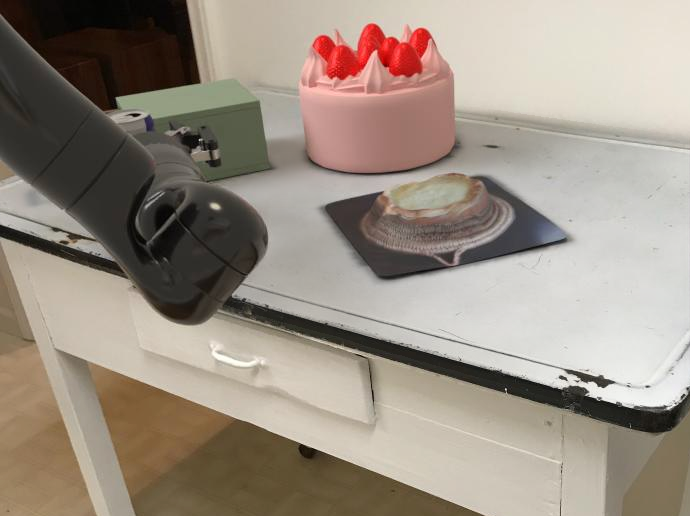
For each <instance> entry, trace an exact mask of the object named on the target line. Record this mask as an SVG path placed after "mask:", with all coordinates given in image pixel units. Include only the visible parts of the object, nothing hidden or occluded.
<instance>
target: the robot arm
mask: <svg viewBox="0 0 690 516" xmlns="http://www.w3.org/2000/svg"><path fill="white" fill-rule="evenodd" d="M103 111H104V110H102V109H101V108H100V107H98V105H96V104H95V103H93V101H91V100H90V99H89V98H88V97H87V96H86V95H84V94H83V93H82V92H81V91H80V90H78V89H77V88H76V87H75V86H74V85H73V84H72V83H70V82H69V80H67V79H66V78H65V77H64V76H62V75H61V74H60V72H58V71H57V70H56V69H55V68H54V67H53V66H51V64H50V63H48V62H47V61H46V59H45V58H43V57H42V56H41V55H40V54H39V53H38V52H37V51H36V50H35V49H34V48H33V47H32V46H31V45H30V44H29V43H28V42H27V41H26V40H25V39H24V38H23V37H22V36H21V35H20V34H19V32H17V30H15V29H14V28H13V26H12V25H11V24H10V23H9V22H8V21H7V20H6V19H5V18H4V16H3V15H2V14H0V162H1V163H2V164H3V166H5V167H6V168H7V169H9V170H10V171H11V172H12V173H14V175H16V176H17V177H18V178H20V179H21V180H22V181H24V182H25V183H26V184H27V185H29V186H30V187H31V188H32V189H34V190H36V192H38V193H39V194H40V195H42V196H43V197H44V198H46V199H47V200H49V201H50V202H51V203H52V204H53V205H55V206H56V207H58V208H59V209H60V210H61V211H63V212H64V213H65V214H67V215H68V216H70V218H71V219H73V220H74V221H75V222H77V223H78V224H79V225H80V226H82V227H83V229H85V230H86V231H87V232H88V233H89V234H90V235H91V236H92V237H93V238H94V239H95V240H96V242H98V244H99V245H100V246H101V247H102V248H103V249H104V250H105V251H106V252H107V253H108V255H109V256H110V257H111V258H112V259H113V260H114V261H115V263H116V264H117V265H118V267H119V268H120V269H121V270H122V271H123V273H124V274H125V276H127V278H128V280H129V281H130V283H131V284H132V285H133V286H134V288H135V289H136V290H137V292H138V293H139V294H140V295H141V297H142V298H143V300H144V301H145V302H146V303H147V304H148V305H149V306H150V308H152V310H153V311H154V312H155V313H156V314H157V315H159V316H160V317H162V318H163V319H165V320H167V321H168V322H171V323H173V324H176V325H179V326H186V327H193V326H199V325H203V324H205V323H206V322H208V321H209V320H210V319H211V318H212V317H214V315H215V314H216V313H217V312H218V311H219V310H220V309H221V307H222V306H223V305H224V304H225V303H226V301H228V299H230V297H231V296H232V295H233V294H234V293H235V292H236V291H237V289H238V288H239V287H240V286H241V285H242V284H243V283H244V282H245V281H246V279H248V277H249V275H251V274H252V272H254V271H255V269H257V267H258V266H259V265H260V263H261V262H262V261H263V259H264V258H265V256H266V254H267V251H268V247H269V231H268V227H267V225H266V222H265V221H264V219H263V217H262V215H260V213H259V212H258V211H257V210H256V209H255V208H254V206H252V205H251V204H250V203H249V202H248V201H247V200H245V199H243V197H241V196H239V195H238V194H236V193H234V192H233V191H231V190H229V189H226V188H224V187H222V186H219V185H216V184H214V183H211V182H208V181H206V178H205V176H204V174H203V172H202V171H201V169H200V168H199V166H198V165H197V164H196V162H201V161H203V164H209V166H210V167H214V168H216V167H219V166H221V165H222V163H221V158H220V152H219V147H218V141H217V139H216V137H215V135H214V134H213V132H212V130H211V129H210V127H209V126H205V125H201V126H199V127H197V130H198V131H191V129H190V127H186V126H185V124H182V123H181V124H179V123H178V122H177V121H176V120H172V121H169V125H170V130H171V131H167V132H165V133H160V132H152V131H150V132H142V133H138V134H135V135H133V136H131V135H130V134H129V133H126V131H125V130H124V129H123V128H122V127H121V126H120V125H118V124H117V123H116V122H115V121H114V120H112V119H111V118H110V117H109V116H108V115H107V114H105V113H104V112H103Z"/></svg>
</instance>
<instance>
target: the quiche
mask: <svg viewBox="0 0 690 516" xmlns="http://www.w3.org/2000/svg"><path fill="white" fill-rule="evenodd" d="M324 208H325V210H326V212H327V214H329V216H330V217H331V218H332V220H333V221H334V222H335V224H336V225H337V226H338V228H339V229H340V230H341V231H342V233H343V234H344V235H345V237H346V238H347V239H348V241H349V242H350V243H351V244H352V245H353V247H354V248H355V249H356V251H358V253H359V254H360V256H361V257H363V259H364V260H365V261H366V262H367V264H368V265H369V266H370V267H371V268H372V270H373V271H374V272H375V273H376V274H377V275H379V276H382V277H389V276H390V277H391V276H396V275H402V274H407V273H415V272H419V271H425V270H426V271H427V270H431V269H439V268H446V267H452V266H459V265H465V264H470V263H474V262H478V261H482V260H486V259H487V260H488V259H490V258H494V257H499V256H502V255H507V254H511V253H514V252H518V251H522V250H527V249H530V248H533V247H537V246H541V245H545V244H549V243H553V242H556V241H561V240H563V239H566V238H567V237H568V234H567V233H566V232H565V231H564V230H563V229H562V228H560V227H559V226H558V225H557V224H555V223H554V222H553V221H552V220H550V219H549V218H548V217H546V216H545V215H544V214H542V213H540V212H539V211H538V210H536V209H535V208H533V207H531V205H529V204H527V203H525V202H524V201H522V200H521V199H520V198H518V197H516V196H515V195H513V194H511V193H510V192H508V191H507V190H505V189H504V188H502V187H501V186H500V185H499V184H497V183H495V182H494V181H493V180H492V179H490V178H488V177H487V176H480V175H478V176H477V175H476V176H475V175H474V176H468V175H467V174H464V173H460V172H459V173H458V172H450V173H443V174H438V175H436V176H433V177H430V178H428V179H425V180H422V181H409V182H406V183H399V184H396V185H394V186H390V187H388V188H386V189H384V190H382V191H377V192H372V193H367V194H363V195H358V196H353V197H349V198H344V199H340V200H337V201H333V202H330V203H327V204H326V205H325V206H324Z"/></svg>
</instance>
